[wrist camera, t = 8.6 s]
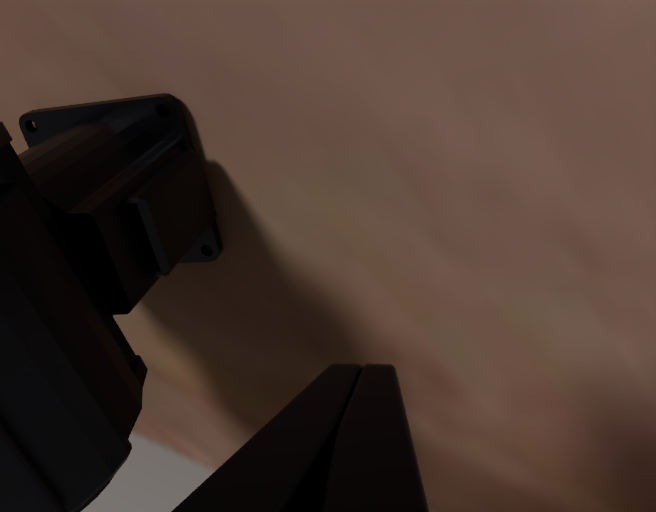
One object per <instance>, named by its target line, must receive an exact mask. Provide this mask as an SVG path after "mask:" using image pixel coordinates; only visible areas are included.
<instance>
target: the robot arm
mask: <svg viewBox="0 0 656 512" xmlns="http://www.w3.org/2000/svg"><path fill="white" fill-rule="evenodd" d="M162 104H165V105H166V106H167V107H168V108H169V110H170V115H168V114H166V113H165V112H163V110H162ZM32 121H33V122H35V124H36V125H37V128H38V129H37V128H35V127H34V125H33V124H32ZM19 125H20V129H21V131H22V133H23V135H24V138H25V140H26V142H27V145H28V147H29V149H28V150H26V151H24V152H23V153H21V154H19V155H17V154H16V152H15V151H14V149H13V147H12V146H11V144H10V141H12V140H13V139H12V138H11V136H10V134H9V133H8V131H7V129H6V128H5V126H4V124H3V122H0V512H80V511H82V510H83V509H84V508H85V507H86V506H88V505H89V504H90V503H91V502H92V501H93V500H94V499H95V498H97V497H98V495H99V494H100V493H101V492H102V491H103V490H104V489H105V487H106V486H107V485H108V484H109V483H110V481H111V480H112V478H113V476H114V475H115V474H116V472H117V471H118V470H119V469H120V467H121V466H122V465H123V464H124V462H125V461H126V460H127V458H128V456H129V454H130V451H131V449H132V445H131V443H130V442H129V440H128V438H129V435H130V433H131V431H132V429H133V427H134V424H135V422H136V420H137V418H138V416H139V413H140V411H141V409H142V391H143V385H144V381H145V378H146V374H147V367H146V365H145V364H144V362H143V360H142V359H141V357H140V356H139V355H135V353H134V352H133V350H132V348H131V347H130V345H129V343H128V341H127V340H126V338H125V336H124V335H123V333H122V331H121V330H120V328H119V326H118V325H117V323H116V321H115V320H114V318H113V315H117V314H128V313H130V312H131V310H132V309H133V308H134V307H135V306H136V305H137V303H138V302H139V301H140V300H141V299H142V298H143V296H144V295H145V294H146V293H147V292H148V291H149V289H150V288H151V287H152V286H153V285H154V284H155V282H156V281H157V280H158V279H159V278H160V276H167V275H169V273H170V272H171V271H172V270H173V269H174V267H175V266H176V265H177V264H178V263H187V262H211V261H215V260H216V259H217V258H218V257H219V256H220V254H221V253H222V250H223V245H222V241H221V238H220V235H219V231H218V228H217V225H216V221H215V218H216V216H217V214H216V210H215V207H214V203H213V200H212V197H211V193H210V190H209V186H208V183H207V180H206V176H205V173H204V169H203V166H202V163H201V159H200V156H199V155H198V154H197V153H196V151H194V148H193V144H192V141H191V138H190V134H189V131H188V127H187V124H186V121H185V117H184V114H183V111H182V107H181V105H180V103H179V101H178V100H177V99H176V98H175V97H174V96H172V95H171V94H166V93H163V94H155V95H147V96H139V97H131V98H124V99H116V100H108V101H100V102H92V103H85V104H77V105H69V106H61V107H53V108H46V109H38V110H32V111H29V112H27V113H25V114H23V115H22V116H21V117H20V119H19ZM205 245H209V246H210V247H211V248H212V249H213V251H210V250H208V249H207V248H206V247H205ZM172 512H429V509H428V505H427V500H426V496H425V492H424V488H423V483H422V479H421V475H420V471H419V466H418V462H417V458H416V454H415V449H414V445H413V441H412V437H411V433H410V428H409V424H408V420H407V416H406V411H405V407H404V403H403V399H402V394H401V390H400V386H399V382H398V377H397V373H396V369H395V367H394V366H393V365H391V364H366V365H365V366H364V367H363V366H362V365H361V364H359V363H334V364H332V365H330V366H329V367H328V368H327V369H326V370H325V371H323V372H322V373H321V374H320V375H319V376H318V377H317V378H316V379H315V380H314V381H313V382H312V383H310V384H309V385H308V386H307V387H306V388H305V389H304V390H303V391H302V392H301V393H300V394H299V395H297V396H296V397H295V398H294V399H293V400H292V401H291V402H290V403H289V404H288V405H287V406H286V407H284V408H283V409H282V410H281V411H280V412H279V413H278V414H277V415H276V416H275V417H274V418H273V419H271V420H270V421H269V422H268V423H267V424H266V425H265V426H264V427H263V428H262V429H261V430H260V431H258V432H257V433H256V434H255V435H254V436H253V437H252V438H251V439H250V440H249V441H248V442H246V443H245V444H244V445H243V446H242V447H241V448H240V449H239V450H238V451H237V452H236V453H235V454H233V455H232V456H231V457H230V458H229V459H228V460H227V461H226V462H225V463H224V464H223V465H222V466H220V467H219V468H218V469H217V470H216V471H215V472H214V473H213V474H212V475H211V476H210V477H209V478H208V479H206V480H205V481H204V482H203V483H202V484H201V485H200V486H199V487H198V488H197V489H196V490H195V491H193V492H192V493H191V494H190V495H189V496H188V497H187V498H186V499H185V500H184V501H183V502H181V503H180V504H179V505H178V506H177V507H176V508H175V509H174V510H173V511H172Z"/></svg>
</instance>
